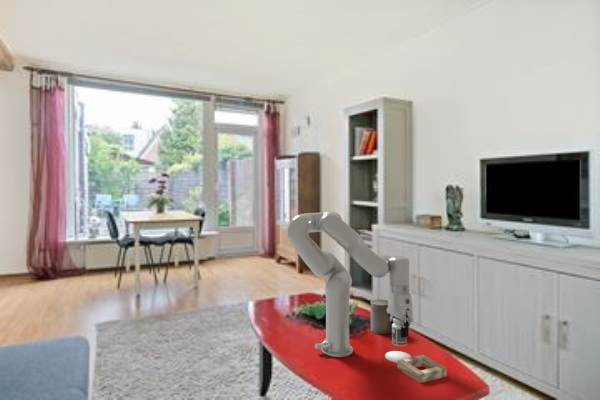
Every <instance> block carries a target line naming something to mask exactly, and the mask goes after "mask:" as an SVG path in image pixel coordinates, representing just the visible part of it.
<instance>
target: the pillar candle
mask: <svg viewBox="0 0 600 400" xmlns="http://www.w3.org/2000/svg"><path fill="white" fill-rule="evenodd" d="M387 308H388V299H382V298H381V299H378V298H377V299H372V300H371V301H370V331H371V332H372V331H373V332H374V334H377V335H390V334H392V332H391V331H390V322H391V321H390V320H389V319H390V318H389V316H388V313H387V311H386V309H387ZM373 332H372V333H373Z"/></svg>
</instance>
